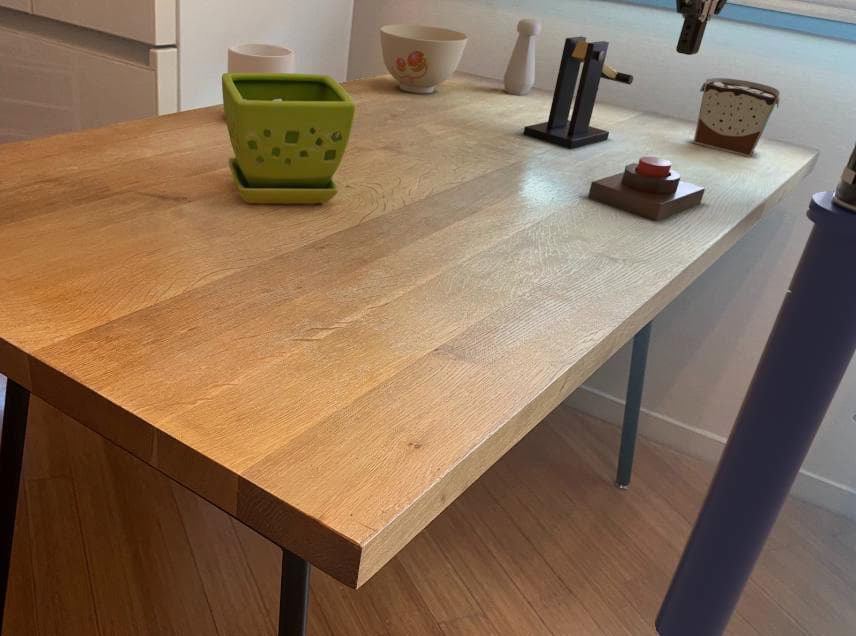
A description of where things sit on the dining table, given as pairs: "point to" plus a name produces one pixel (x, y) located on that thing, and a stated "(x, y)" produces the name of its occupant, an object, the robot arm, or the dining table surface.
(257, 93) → the flower pot
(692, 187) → the block
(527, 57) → the salt shaker
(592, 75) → the lock bracket
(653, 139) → the dining table surface
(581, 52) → the lever
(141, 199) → the dining table surface
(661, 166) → the button
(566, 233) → the dining table surface
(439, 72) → the bowl
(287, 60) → the mug
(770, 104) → the food container
